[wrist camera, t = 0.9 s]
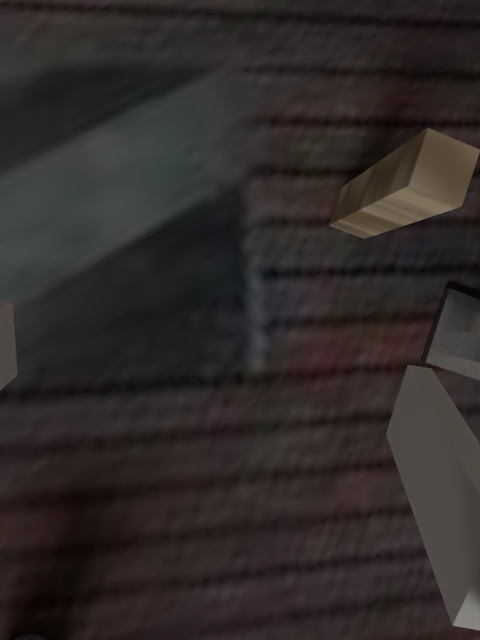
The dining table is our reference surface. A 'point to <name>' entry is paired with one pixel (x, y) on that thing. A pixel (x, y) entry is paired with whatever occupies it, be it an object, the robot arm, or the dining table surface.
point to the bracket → (455, 335)
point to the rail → (407, 186)
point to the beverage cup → (31, 637)
